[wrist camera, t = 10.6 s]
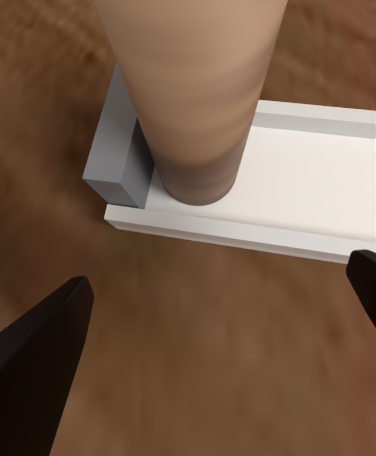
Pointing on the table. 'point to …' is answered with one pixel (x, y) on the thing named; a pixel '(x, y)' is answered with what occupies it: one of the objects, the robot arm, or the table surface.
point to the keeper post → (194, 83)
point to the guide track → (251, 181)
